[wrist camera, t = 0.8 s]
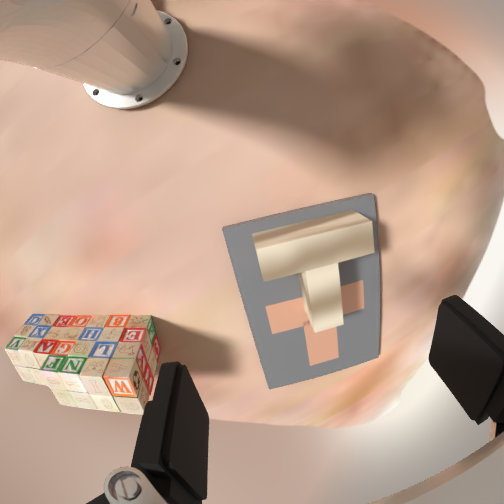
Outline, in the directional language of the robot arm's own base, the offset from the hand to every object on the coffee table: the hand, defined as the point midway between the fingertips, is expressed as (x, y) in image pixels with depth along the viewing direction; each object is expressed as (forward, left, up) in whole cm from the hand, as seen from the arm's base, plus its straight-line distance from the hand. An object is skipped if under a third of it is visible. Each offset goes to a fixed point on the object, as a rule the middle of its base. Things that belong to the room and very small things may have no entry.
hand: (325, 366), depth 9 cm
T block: (+8, +5, -24) cm, 26 cm away
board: (+14, +5, -25) cm, 29 cm away
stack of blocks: (+11, -27, -25) cm, 39 cm away
